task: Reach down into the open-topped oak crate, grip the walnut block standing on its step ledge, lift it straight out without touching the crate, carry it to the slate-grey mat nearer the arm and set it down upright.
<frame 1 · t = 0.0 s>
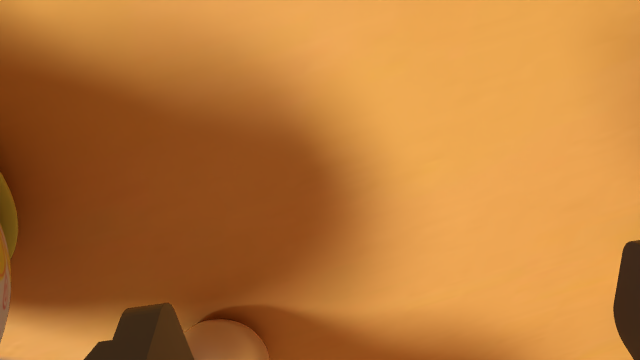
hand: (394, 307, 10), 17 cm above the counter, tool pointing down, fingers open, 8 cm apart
plastic bottle: (223, 339, 36), on the counter
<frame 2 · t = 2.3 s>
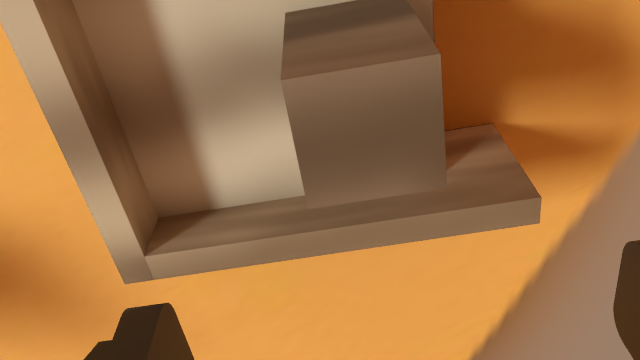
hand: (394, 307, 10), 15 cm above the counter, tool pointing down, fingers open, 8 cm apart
crate: (296, 36, 23), on the counter
block: (351, 58, 20), point 3 cm above the counter, touching crate
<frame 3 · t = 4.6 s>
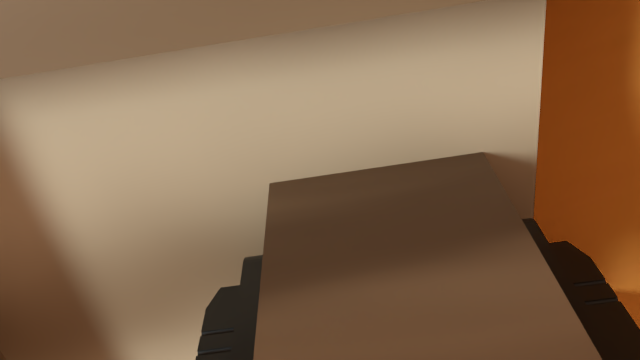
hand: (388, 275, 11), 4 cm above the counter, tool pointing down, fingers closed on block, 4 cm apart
crate: (291, 175, 14), on the counter
block: (384, 250, 11), point 4 cm above the counter, touching crate, gripper
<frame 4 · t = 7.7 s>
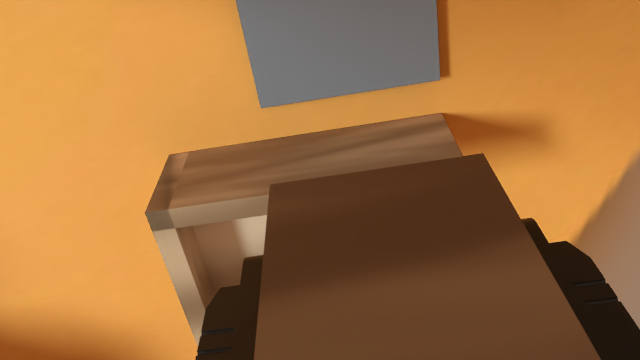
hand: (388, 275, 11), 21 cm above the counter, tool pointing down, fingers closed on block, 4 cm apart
crate: (321, 225, 36), on the counter
block: (385, 251, 11), point 20 cm above the counter, touching gripper
mat: (336, 0, 29), on the counter
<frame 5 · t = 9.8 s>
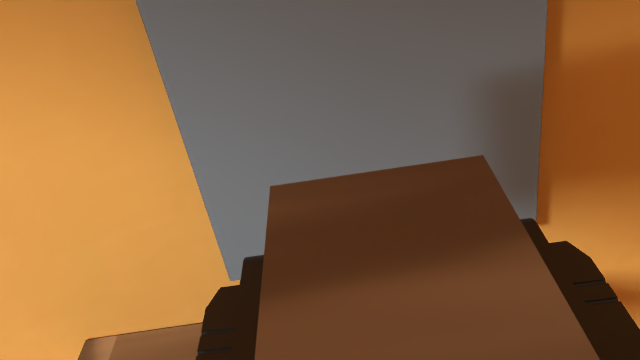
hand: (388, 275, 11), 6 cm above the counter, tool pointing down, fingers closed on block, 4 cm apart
block: (385, 253, 11), point 6 cm above the counter, touching gripper
mat: (359, 113, 16), on the counter
when the fingers open (3 cm above the counter, at t = 11.2 s): block drops 2 cm, resting on mat.
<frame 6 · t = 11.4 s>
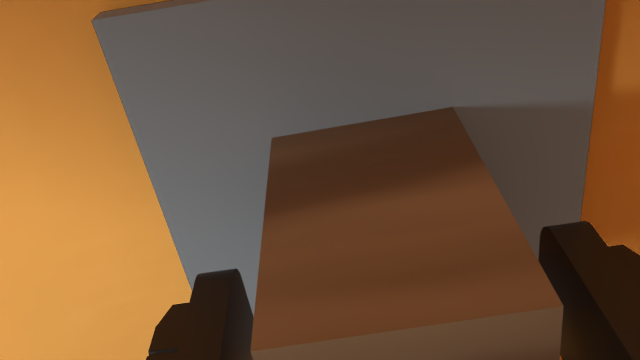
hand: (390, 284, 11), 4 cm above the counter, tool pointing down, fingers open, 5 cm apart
block: (372, 197, 13), point 1 cm above the counter, touching mat
mat: (369, 181, 14), on the counter
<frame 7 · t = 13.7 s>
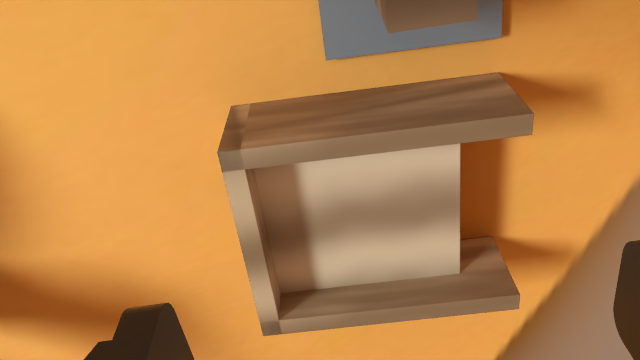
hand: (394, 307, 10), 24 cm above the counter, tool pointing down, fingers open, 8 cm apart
crate: (372, 183, 37), on the counter
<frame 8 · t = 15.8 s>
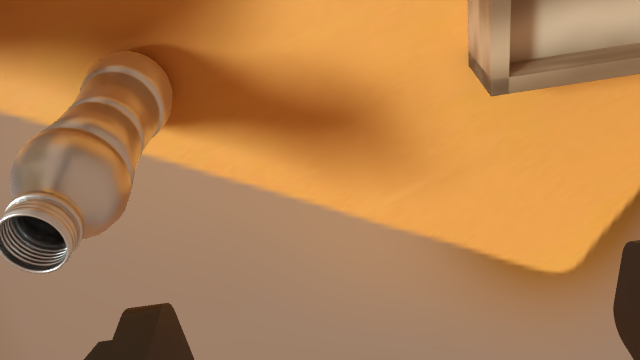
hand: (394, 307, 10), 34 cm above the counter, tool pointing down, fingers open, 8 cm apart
plastic bottle: (137, 83, 44), on the counter
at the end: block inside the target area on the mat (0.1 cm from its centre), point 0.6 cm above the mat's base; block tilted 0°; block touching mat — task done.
